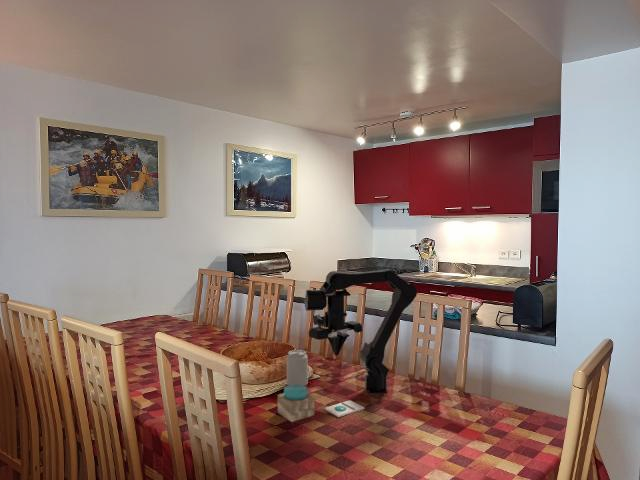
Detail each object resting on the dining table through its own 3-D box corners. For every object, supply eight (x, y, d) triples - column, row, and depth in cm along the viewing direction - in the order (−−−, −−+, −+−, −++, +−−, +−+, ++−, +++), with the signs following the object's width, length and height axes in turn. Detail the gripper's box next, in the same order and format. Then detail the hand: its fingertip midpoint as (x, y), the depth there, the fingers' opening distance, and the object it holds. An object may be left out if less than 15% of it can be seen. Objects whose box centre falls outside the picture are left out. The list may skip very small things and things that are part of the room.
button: (299, 398, 143) (299, 383, 142) (311, 405, 137) (311, 389, 137) (279, 403, 139) (279, 388, 138) (292, 411, 133) (291, 395, 133)
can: (282, 387, 160) (282, 353, 160) (293, 380, 167) (293, 347, 166) (301, 390, 157) (300, 356, 156) (311, 383, 163) (311, 350, 163)
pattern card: (349, 401, 147) (349, 399, 147) (364, 409, 141) (364, 406, 141) (324, 409, 141) (324, 407, 141) (338, 417, 135) (338, 415, 135)
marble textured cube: (299, 406, 143) (299, 389, 143) (314, 415, 137) (314, 397, 137) (277, 412, 139) (277, 394, 139) (291, 422, 132) (291, 403, 132)
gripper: (343, 302, 164) (343, 345, 165) (299, 308, 154) (299, 354, 154) (363, 307, 155) (363, 352, 156) (318, 314, 145) (318, 362, 145)
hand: (336, 355), depth 153 cm, fingers closed
